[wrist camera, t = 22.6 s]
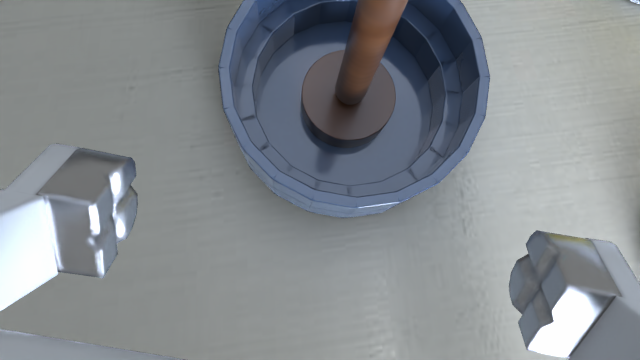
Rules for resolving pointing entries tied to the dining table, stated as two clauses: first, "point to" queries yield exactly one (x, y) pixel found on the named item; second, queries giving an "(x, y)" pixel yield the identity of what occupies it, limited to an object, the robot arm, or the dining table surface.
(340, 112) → the wooden plunger
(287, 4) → the bowl
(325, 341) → the dining table surface
